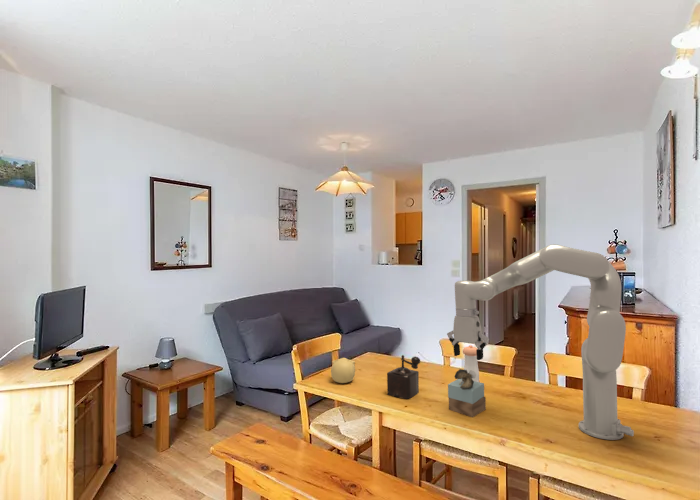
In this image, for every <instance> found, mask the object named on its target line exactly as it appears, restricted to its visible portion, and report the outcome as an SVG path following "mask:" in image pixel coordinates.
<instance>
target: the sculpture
mask: <svg viewBox="0 0 700 500" xmlns="http://www.w3.org/2000/svg"><path fill="white" fill-rule="evenodd" d="M331 363H332V366H331V369H330V376H331V378H332V380H333V382H335V383H340V384H345V383H350V382H351V381H353V380H354V378H355V375H356V366H355V363H356V361H355V360H351V359H348V358H346V357H341V358H339V359H334V360H332V361H331Z"/></svg>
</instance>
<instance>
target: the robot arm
mask: <svg viewBox="0 0 700 500" xmlns="http://www.w3.org/2000/svg"><path fill="white" fill-rule="evenodd" d="M553 271H556V272H560V273H564V274H569V275H572V276H576V277H577V276H578V277H581V278H587V279H588V280H589V283H590V294H589V295H590V297H589V298H590V299H589V303H588V304H589V305H588V310H587V315H586V323H587V325H588V326H589V327H588V336H587V338H585V339H584V340H583V343H582V344H581V348H580V351H581V364H582V368H581V369H582V399H583V402H582V403H583V405H582V406H583V411H582V412H583V420H580V421H579V422H578V429H579V430H580V431H581V432H583V434H586V435H589V436H590V437H594V438H597V439H601V440H608V441H614V440H615V441H616V440H620V439H623V437H624V436H625V435H627V436H630V437H634V435H635V431H634V429H632V427H631V426H629V425H623V424H622V423H621V419H618V389H617V388H618V383H617V382H618V381H617V370H618V369H619V368H620V366H621V364H622V360H623V355H624V348H625V347H624V346H625V340H626V333H627V332H626V331H627V329H626V328H627V327H626V320H625V318H624V316H623V315H622V314H621V302H622V299H621V298H622V281H621V278H620V275H619V273H618V271H617V269H616V268H615V267H614V266H613V264H612V263H611V262H610V261H609V260H608V259H607V257H606V256H604V255H603V254H601V253H599V252H594V251H588V250H584V249H579V248H578V249H577V248H574V247H568V246H565V245H560V244H554V243H553V244H549V245H546V246H545V247H543V248H541V249H538V250H537V251H534V252H533V253H531V254H528V255H527V256H524V257H523V258H520V259H519V260H516V261H515V262H512V263H511V264H509V265H508V266H507V267H504V269H501V270H499V271H498V272H496V273H494V274H492V275H490V276H488V277H485V278H484V279H481V280H478V281H477V280H476V281H472V280H457V281H455V282H454V299H455V301H454V303H455V316H454V319H453V330H451V331H449V332H447V333H446V335H447V337H448V339H449V341H450V343H451V345H452V346H453V354H454V355H453V356H454V357H457V356H460V355H461V349H460V348H461V345H460V344H459V343H464V344H470V345H471V344H473V345H475V348H477V350H476V351H477V361H480V360H483V358H484V349H485V347H486V346H487V345H488V342H489V340H490V338H489V337H488V336H486V335H485V334H483V333H482V332H483V330H482V324H481V322H480V321H481V320H480V317H479V316H478V315H479V314H480V311H479V310H478V309H477V301H490V300H492V299H494V297H495V296H497V295H499V294H502V293H503V292H505V291H508V290H509V289H512V288H515V287H517V286H522V285H526V284H528V283H530V282H532V281H535V280H536V279H539V278H541V277H542V276H544V275H547V274H549V273H551V272H553ZM476 300H477V301H476Z"/></svg>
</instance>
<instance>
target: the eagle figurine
mask: <svg viewBox="0 0 700 500" xmlns="http://www.w3.org/2000/svg"><path fill="white" fill-rule="evenodd" d="M453 376H454V379H455V380H457V379H462V380H461V381H460V384H462V383H463V382H464V383H463V384H462V386H461V387H460V388H461V389H462V390H467V389H468V390H469V389H471V388H472V387H473V383H474V381H473V380H472V378H475V377H476V373H475V372H474V371H472V370H470V372H469V373H468V372H467V370H464V368H459V369H458V370H457V371H456V372H455V375H453ZM460 384H459V385H460Z"/></svg>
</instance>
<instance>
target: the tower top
mask: <svg viewBox="0 0 700 500" xmlns="http://www.w3.org/2000/svg"><path fill="white" fill-rule="evenodd" d="M461 380H462V379H455V380H454V381H451V382H449V383H448V384H447V397H448V399H449V398H452V399H456V400H460V401H463V402H467V403H471V404H474V403H475V402H477V401H478V400H480V399H481V398H482V397H485V383H484V382H481V381H480V382H476V381H474V383H473V387H472V388H471V389H469V390H468V389H467V390H462V389H461V388H460V387H461V386H462V384H463V383H464V382H463V383H462V384H460V381H461ZM459 384H460V385H459Z"/></svg>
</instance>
